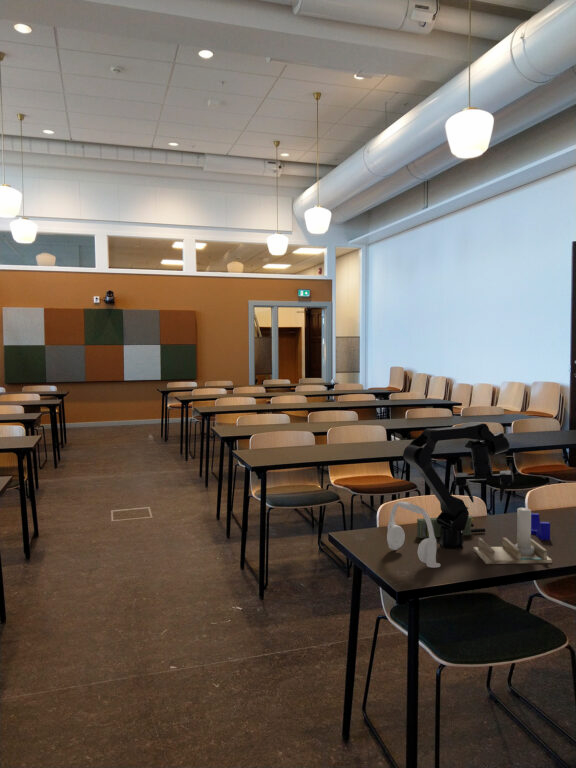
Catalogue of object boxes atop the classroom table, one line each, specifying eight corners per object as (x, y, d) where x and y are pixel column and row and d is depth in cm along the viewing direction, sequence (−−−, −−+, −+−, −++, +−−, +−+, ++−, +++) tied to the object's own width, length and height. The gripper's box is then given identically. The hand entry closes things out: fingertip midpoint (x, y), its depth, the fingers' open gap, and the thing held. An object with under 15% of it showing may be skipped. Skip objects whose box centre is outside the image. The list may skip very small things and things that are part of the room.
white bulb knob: (512, 554, 176) (512, 510, 176) (515, 548, 182) (515, 506, 181) (533, 557, 174) (533, 513, 173) (535, 551, 179) (535, 508, 178)
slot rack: (486, 563, 172) (486, 551, 172) (473, 550, 184) (473, 538, 184) (551, 562, 172) (551, 550, 171) (534, 549, 184) (534, 537, 183)
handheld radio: (416, 536, 199) (482, 531, 203) (419, 539, 196) (487, 535, 199) (416, 517, 199) (483, 514, 202) (419, 521, 195) (487, 517, 199)
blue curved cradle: (524, 529, 205) (525, 513, 204) (537, 529, 204) (537, 513, 204) (536, 540, 193) (536, 523, 192) (549, 540, 192) (550, 523, 192)
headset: (382, 551, 184) (382, 497, 183) (399, 547, 187) (399, 495, 186) (424, 572, 166) (424, 513, 165) (442, 567, 170) (442, 509, 169)
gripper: (510, 449, 195) (515, 492, 197) (455, 453, 202) (461, 494, 204) (510, 459, 185) (515, 504, 187) (452, 462, 192) (458, 505, 194)
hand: (486, 501), depth 193 cm, fingers open, 9 cm apart
